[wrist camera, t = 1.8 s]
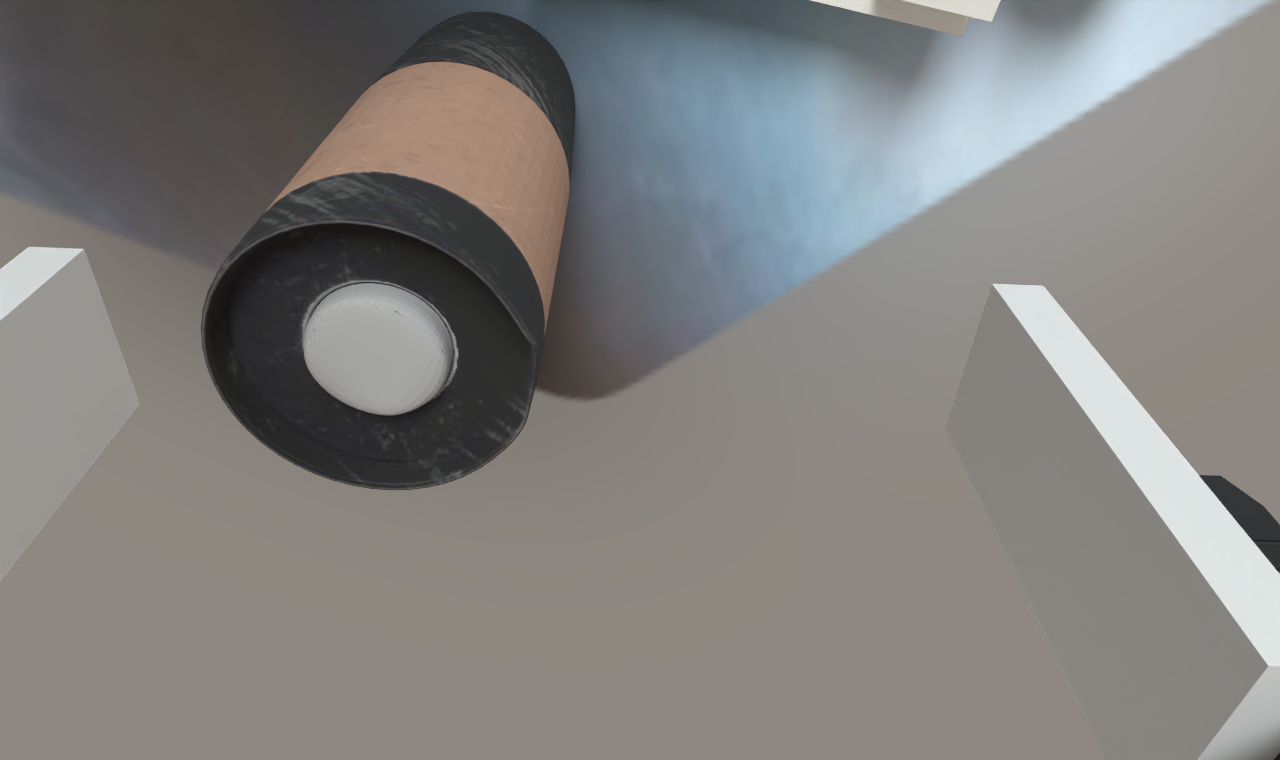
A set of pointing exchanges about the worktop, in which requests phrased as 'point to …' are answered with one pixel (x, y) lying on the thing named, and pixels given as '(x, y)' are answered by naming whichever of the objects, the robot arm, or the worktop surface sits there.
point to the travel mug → (406, 267)
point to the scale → (925, 11)
